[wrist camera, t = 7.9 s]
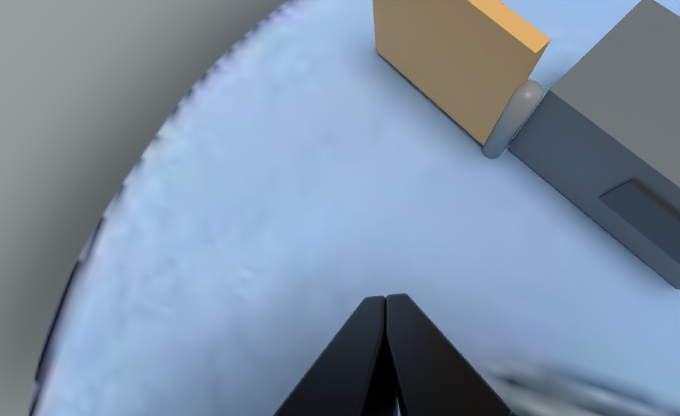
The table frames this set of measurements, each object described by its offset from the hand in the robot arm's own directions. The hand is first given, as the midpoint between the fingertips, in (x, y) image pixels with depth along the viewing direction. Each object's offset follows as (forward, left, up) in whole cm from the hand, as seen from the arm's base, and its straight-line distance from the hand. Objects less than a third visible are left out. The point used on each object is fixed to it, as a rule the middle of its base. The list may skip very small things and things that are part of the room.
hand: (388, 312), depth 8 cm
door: (+10, +6, -12) cm, 17 cm away
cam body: (+13, -3, -12) cm, 18 cm away
